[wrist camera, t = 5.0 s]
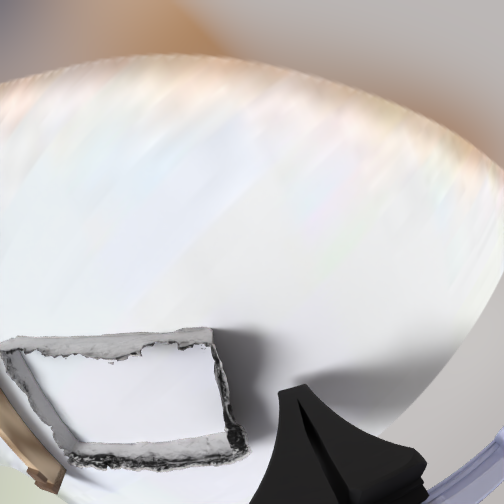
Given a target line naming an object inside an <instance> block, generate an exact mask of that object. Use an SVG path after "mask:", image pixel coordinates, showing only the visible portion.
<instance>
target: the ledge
mask: <svg viewBox="0 0 504 504" xmlns="http://www.w3.org/2000/svg"><path fill="white" fill-rule="evenodd" d="M0 436H1V438H2V439H3V440H4V441H5V442H6V444H7V445H8V446H9V447H10V448H11V449H12V450H13V451H14V453H15V454H16V455H17V456H18V457H19V458H20V459H21V460H22V461H23V462H24V463H25V464H26V465H27V466H28V469H27V471H26V472H27V473H28V474H29V475H30V476H31V477H32V478H33V479H35V480H36V481H35V485H37V486H38V487H39V488H40V489H43V490H46V491H49V492H51V493H54V494H58V491H59V489H60V486H61V483H62V481H63V478H64V475H65V473H66V469H65V468H64V467H63V466H62V465H61V464H60V463H59V462H58V461H57V460H56V459H55V458H54V457H53V456H52V455H51V454H50V453H49V452H48V451H47V450H46V448H45V447H44V446H43V445H42V444H41V443H40V442H39V440H38V439H37V438H36V437H35V436H34V434H33V433H32V432H31V431H30V430H29V428H28V427H27V426H26V424H25V423H24V422H23V421H22V419H21V418H20V417H19V415H18V414H17V412H16V411H15V410H14V408H13V407H12V405H11V404H10V402H9V401H8V399H7V398H6V396H5V395H4V393H3V392H2V390H1V389H0Z"/></svg>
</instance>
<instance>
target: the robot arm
mask: <svg viewBox="0 0 504 504" xmlns="http://www.w3.org/2000/svg"><path fill="white" fill-rule="evenodd" d="M278 397H279V424H278V430H277V436H276V441H275V446H274V450H273V453H272V456H271V459H270V462H269V465H268V468H267V470H266V473H265V475H264V477H263V479H262V481H261V483H260V485H259V487H258V489H257V491H256V493H255V494H254V496H253V498H252V499H251V501H250V503H249V504H479V503H480V502H481V501H482V500H483V499H484V498H486V497H487V496H488V495H489V494H490V493H491V492H492V491H493V490H494V489H495V488H497V487H498V486H499V485H500V484H501V483H502V481H504V426H503V427H502V428H501V429H500V431H499V432H498V433H497V435H496V437H495V439H494V440H493V441H492V442H491V443H490V444H489V445H488V446H486V447H485V448H484V449H483V450H482V451H481V452H480V453H478V454H477V455H476V456H475V457H474V458H473V459H471V460H470V461H469V462H467V463H466V464H465V465H464V466H462V467H461V468H460V469H458V470H457V471H456V472H454V473H453V474H451V475H450V476H449V477H447V478H446V479H444V480H443V481H441V482H440V483H438V484H437V485H436V486H434V487H432V488H431V489H429V490H427V491H426V489H425V488H424V486H423V483H424V481H423V480H422V478H421V475H422V474H423V472H424V470H425V468H426V466H427V462H426V461H425V459H424V458H423V457H422V456H421V455H420V454H419V453H418V452H417V451H416V450H415V449H414V448H410V447H405V446H401V445H397V444H394V443H391V442H388V441H385V440H382V439H380V438H378V437H375V436H373V435H370V434H368V433H366V432H364V431H362V430H360V429H359V428H357V427H355V426H354V425H352V424H350V423H349V422H347V421H346V420H344V419H343V418H341V417H340V416H339V415H337V414H336V413H335V412H334V411H332V410H331V409H330V408H329V407H328V406H327V405H325V404H324V403H323V402H322V401H321V400H320V399H319V398H318V397H317V396H316V395H315V394H314V393H313V392H312V391H311V389H310V388H309V387H308V386H307V385H306V384H303V385H300V386H296V387H293V388H289V389H286V390H282V391H279V392H278Z"/></svg>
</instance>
